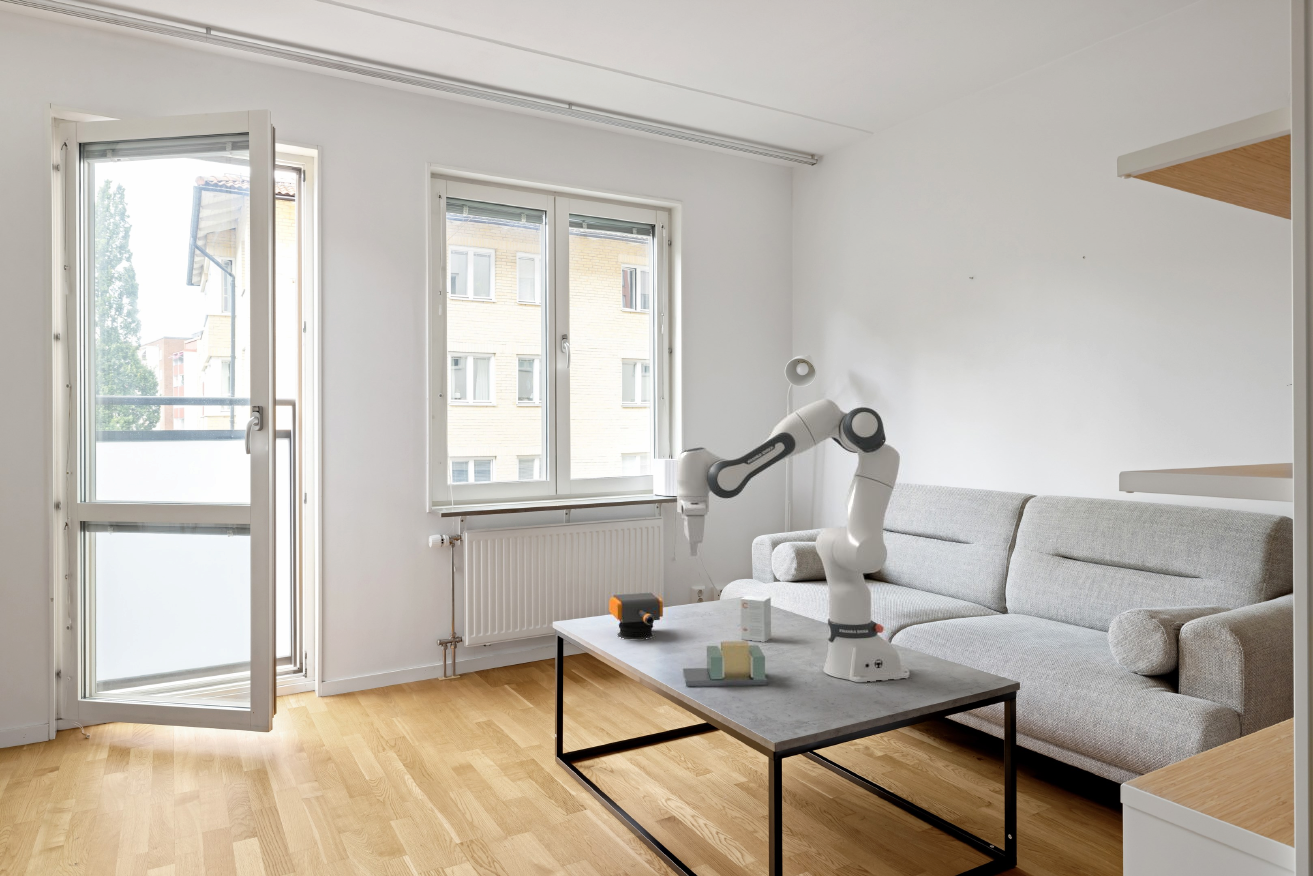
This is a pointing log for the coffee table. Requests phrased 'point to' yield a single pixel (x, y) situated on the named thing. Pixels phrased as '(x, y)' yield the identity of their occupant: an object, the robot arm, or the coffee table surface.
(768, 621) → the small box
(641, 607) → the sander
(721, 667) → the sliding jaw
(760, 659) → the vise
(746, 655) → the brass block
